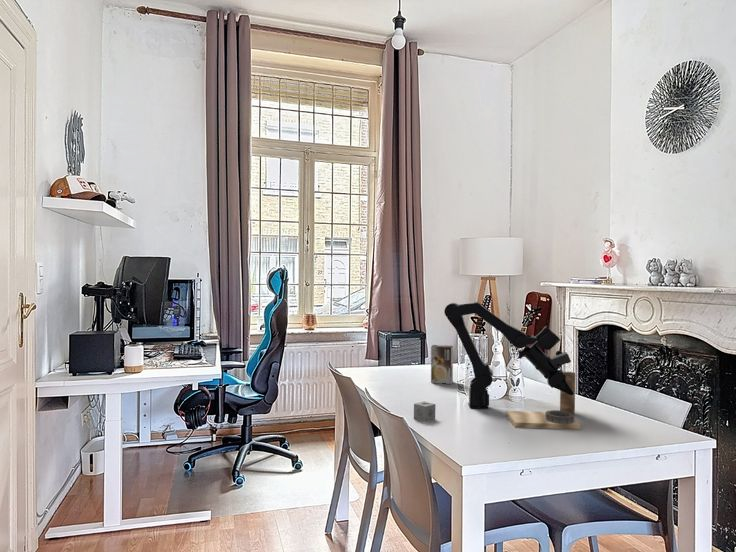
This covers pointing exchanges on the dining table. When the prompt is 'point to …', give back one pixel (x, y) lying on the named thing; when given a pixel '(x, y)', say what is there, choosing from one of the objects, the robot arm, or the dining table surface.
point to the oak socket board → (543, 419)
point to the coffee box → (442, 364)
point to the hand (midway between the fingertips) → (571, 392)
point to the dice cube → (424, 411)
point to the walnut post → (565, 399)
